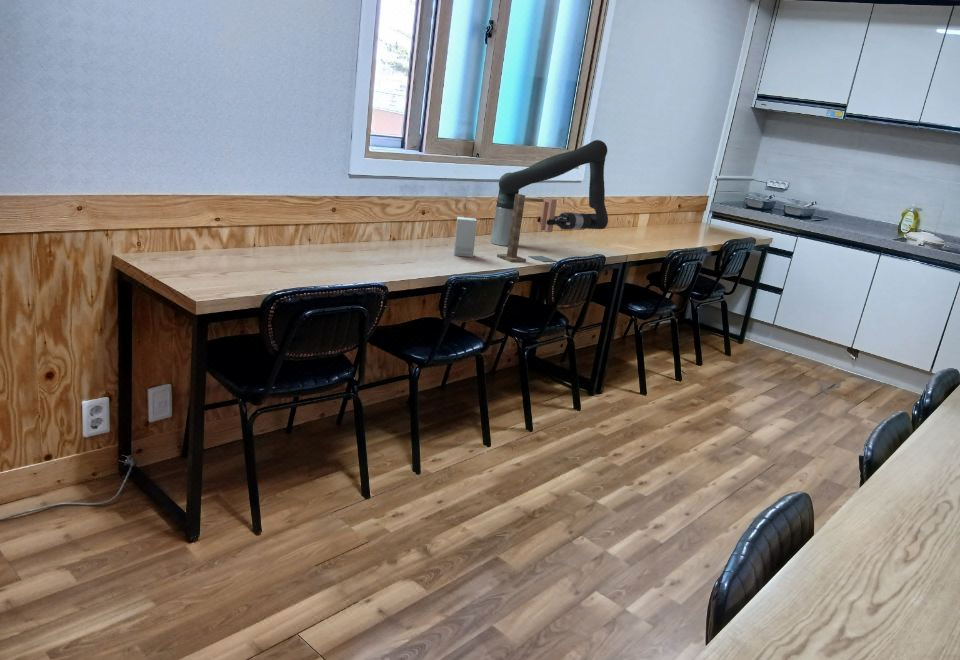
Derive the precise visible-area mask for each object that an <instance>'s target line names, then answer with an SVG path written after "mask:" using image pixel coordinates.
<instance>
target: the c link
mask: <svg viewBox="0 0 960 660" xmlns="http://www.w3.org/2000/svg"><path fill="white" fill-rule="evenodd" d="M542 199H544V202H541V209H540V210H541V211H540V216H539V217H540V222H539V225H538V230H539V231H544V232H546V233H553V230H554V225H547V220H548V219H554V217H555V216H556V209H557V201H558V199H555V198H552V197H542Z"/></svg>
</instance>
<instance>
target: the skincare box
mask: <svg viewBox="0 0 960 660" xmlns="http://www.w3.org/2000/svg"><path fill="white" fill-rule="evenodd" d="M477 222H478V220H477V218H473V217H462V216H457V218H456V226H455V238H454V249H453V255H454V257H455V256H457V257H466V258H467V257H468V258H474V250H475V241H476V233H477Z"/></svg>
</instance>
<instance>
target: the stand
mask: <svg viewBox="0 0 960 660" xmlns="http://www.w3.org/2000/svg"><path fill="white" fill-rule="evenodd" d="M525 202H531V203H532V202H533V203H542V202H544V199H543V198H531V197H530V198H529V197H528V198H527V197H526V194H522V193H518V194H515V200H514V207H513V214H512V221H511V229H510V236H509V243H508V246H507V252H506V253H496V258H499V259H502V260H505V261H507V262H509V263H521V262H522V263H527V258H525V257H521V256H519V255H518V249H519V242H520V236H521V228H522V222H523V215H524V208H525Z"/></svg>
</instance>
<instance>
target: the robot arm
mask: <svg viewBox="0 0 960 660" xmlns="http://www.w3.org/2000/svg"><path fill="white" fill-rule="evenodd" d="M607 154H608V146H607V144H606V143H605V142H604V141H602V140H599V139H595V140H592V141H591V142H588V143H587V144H585V145H583V146H581V147H579V148H576V149H574V150H571V151H566V152H562V153H559V154H555V155H552V156H550V157H547V158H544V159H542V160H540V161H538V162H535V163H534V164H532V165H530V166H528V167H525V168H523V169H521V170H517V171H514V172H506V173H504V174H503V175H502V176H501V177H500V178H499V180H498V188H499V189H498V194H497V200H496V205H495V206H496V207H495V212H494V214H495V215H494V220H493V222H492V227H491V234H490V242H491V244H494V245H498V246H503V247H504V246H507V247H508V243H509V236H510V229H511V221H512V214H513V207H514V200H515V194H520V193H519V191H520V189H523V188H525V187H528V186H529V185H533V184H537V183H539V182H545V181H549V180H551V179H554V178H557V177H559V176H562V175H565V174H566V173H568V172H570V171H572V170H574V169H576V168H577V167H580V166H582V165H586V164H589V187H588V189H589V191H588V206H589V207H590V208H591V209H594V212H595V213H583V212H561V213H560V214H559V215H555V217H554V219H548V220H547V225H553V226H556V227H559V228H560V229H561V230H567V231H568V230H569V231H570V230H573V231H574V230H582V229H583V230H584V229H585V230H586V229H589V230H591V229H592V230H603V229H606V228H607V226H608V224H609V215H608V211H607V209H606V208H607V207H606V204H605V201H606V200H605V199H606V197H605V196H606V195H605V191H606V190H605V164H606V163H605V162H606V157H607V156H608V155H607ZM540 217H541V216H537V220H536V222H537V223H540Z"/></svg>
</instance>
